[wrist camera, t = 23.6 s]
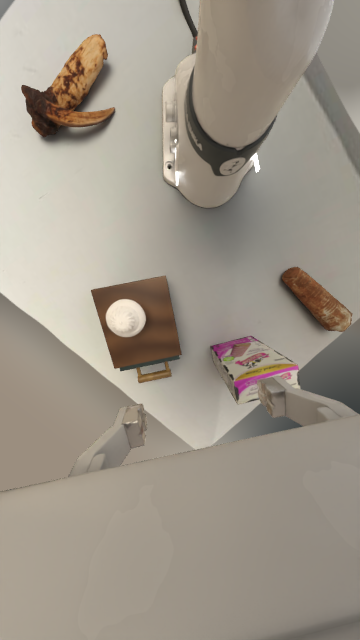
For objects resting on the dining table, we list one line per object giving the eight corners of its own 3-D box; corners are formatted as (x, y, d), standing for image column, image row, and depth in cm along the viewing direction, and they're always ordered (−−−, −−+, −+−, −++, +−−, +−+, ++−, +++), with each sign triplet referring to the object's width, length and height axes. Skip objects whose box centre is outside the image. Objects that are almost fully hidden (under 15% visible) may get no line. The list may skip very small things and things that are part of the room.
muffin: (149, 299, 30) (143, 303, 23) (147, 332, 31) (141, 345, 25) (113, 295, 30) (97, 299, 23) (112, 329, 31) (97, 343, 24)
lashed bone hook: (70, 168, 34) (134, 93, 31) (55, 151, 29) (129, 62, 27) (28, 122, 31) (94, 38, 29) (5, 96, 27) (81, -6, 25)
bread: (320, 329, 45) (341, 336, 39) (274, 279, 41) (290, 279, 35) (338, 312, 44) (363, 316, 38) (293, 259, 40) (313, 255, 35)
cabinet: (178, 338, 42) (181, 354, 33) (126, 349, 42) (114, 368, 32) (166, 277, 39) (165, 275, 30) (109, 288, 38) (90, 290, 29)
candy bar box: (251, 334, 43) (300, 363, 27) (253, 351, 44) (302, 390, 29) (208, 344, 43) (233, 381, 27) (212, 362, 44) (238, 407, 28)
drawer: (180, 361, 43) (183, 378, 35) (133, 371, 42) (126, 390, 35) (165, 288, 38) (165, 289, 31) (113, 298, 38) (99, 301, 30)
